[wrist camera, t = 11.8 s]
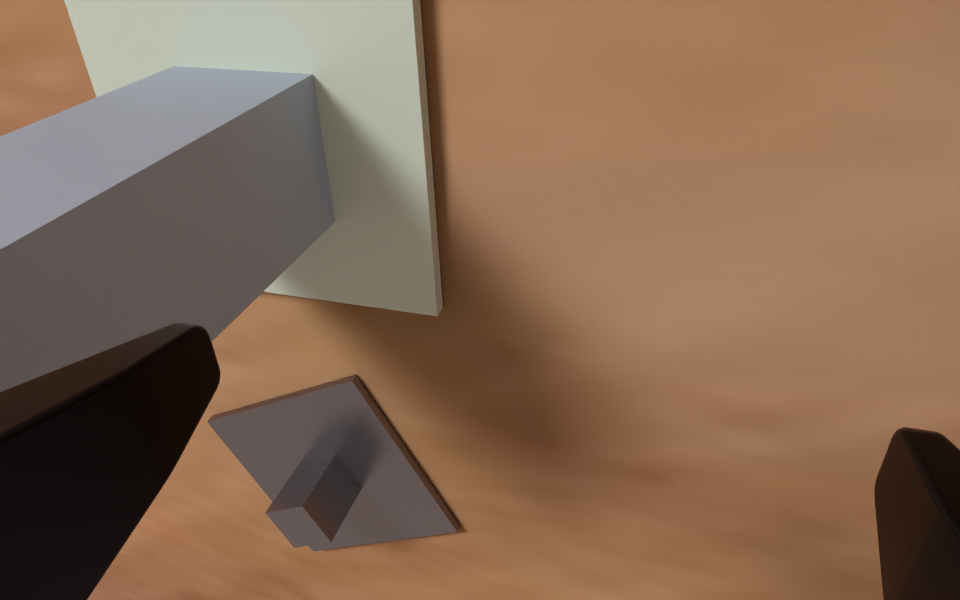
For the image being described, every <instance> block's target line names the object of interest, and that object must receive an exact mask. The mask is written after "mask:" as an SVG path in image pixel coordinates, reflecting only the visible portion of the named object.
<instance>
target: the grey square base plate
mask: <svg viewBox="0 0 960 600" xmlns="http://www.w3.org/2000/svg"><path fill="white" fill-rule="evenodd" d="M207 422H208V423H209V425H210V426H211V427H212V428H213V429H214V431H215V432H216V433H217V434H218V435H219V437H220V438H221V439H222V440H223V442H224V443H225V444H226V445H227V446H228V448H229V449H230V450H231V451H232V453H233V454H234V455H235V456H236V457H237V459H238V460H239V461H240V462H241V464H242V465H243V466H244V467H245V468H246V470H247V471H248V472H249V473H250V475H251V476H252V477H253V478H254V479H255V481H256V482H257V483H258V484H259V485H260V487H261V488H262V489H263V490H264V492H265V493H266V494H267V495H268V496H269V498H270V499H271V500H272V501H273V503H272V504H271V505H270V507H269V508H268V510H267V511H266V514H267V515H268V517H269V518H270V519H271V520H272V521H273V523H274V524H275V525H276V526H277V527H278V529H279V530H280V531H281V532H282V533H283V535H284V536H285V537H286V538H287V539H288V541H289V542H290V543H291V544H292V545H293V547H294V548H295V547H302V546H310V548H311V549H312V550H313V551H319V550H327V549H334V548H342V547H349V546H357V545H365V544H372V543H380V542H387V541H395V540H402V539H410V538H418V537H425V536H433V535H440V534H448V533H455V532H458V529H459V527H460V524H459V523H458V522H457V520H456V519H455V517H454V516H453V514H452V513H451V511H450V510H449V509H448V507H447V506H446V504H445V503H444V501H443V500H442V498H441V497H440V496H439V494H438V493H437V491H436V490H435V488H434V487H433V485H432V484H431V483H430V481H429V480H428V478H427V477H426V475H425V474H424V472H423V471H422V469H421V468H420V467H419V465H418V464H417V462H416V461H415V459H414V458H413V456H412V455H411V454H410V452H409V451H408V449H407V448H406V446H405V445H404V443H403V442H402V441H401V439H400V438H399V436H398V435H397V433H396V432H395V430H394V429H393V428H392V426H391V425H390V423H389V422H388V420H387V419H386V417H385V416H384V414H383V413H382V412H381V410H380V409H379V407H378V406H377V404H376V403H375V401H374V400H373V399H372V397H371V396H370V394H369V393H368V391H367V390H366V388H365V387H364V386H363V384H362V383H361V381H360V380H359V378H358V377H357V375H353V376H350V377H346V378H343V379H339V380H336V381H332V382H329V383H325V384H322V385H318V386H315V387H312V388H308V389H305V390H301V391H298V392H294V393H291V394H287V395H284V396H280V397H277V398H273V399H270V400H266V401H263V402H259V403H256V404H252V405H249V406H245V407H242V408H238V409H235V410H231V411H228V412H224V413H221V414H217V415H214V416H212V417H211V418H210V419H209V420H208V421H207Z"/></svg>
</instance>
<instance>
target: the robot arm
mask: <svg viewBox="0 0 960 600" xmlns="http://www.w3.org/2000/svg"><path fill="white" fill-rule="evenodd" d="M219 381H220V368H219V365H218V362H217V359H216V355H215V352H214V349H213V346H212V342H211V339H210V336H209V333H208V331H207V330H206V329H205V328H204V327H202V326H200V325H194V324H187V323H174V324H171V325H168V326H166V327H163V328H161V329H158V330H156V331H153V332H151V333H148V334H146V335H143V336H140V337H138V338H135V339H133V340H130V341H128V342H125V343H123V344H120V345H118V346H115V347H113V348H110V349H108V350H105V351H103V352H100V353H98V354H95V355H93V356H90V357H87V358H85V359H82V360H80V361H77V362H75V363H72V364H70V365H67V366H65V367H62V368H60V369H57V370H55V371H52V372H50V373H47V374H45V375H42V376H39V377H37V378H34V379H32V380H29V381H27V382H24V383H22V384H19V385H17V386H14V387H12V388H9V389H7V390H4V391H2V392H0V600H87V599H88V598H89V596H90V595H91V593H92V592H93V590H94V589H95V587H96V586H97V584H98V583H99V581H100V580H101V578H102V577H103V575H104V574H105V572H106V571H107V569H108V568H109V566H110V565H111V563H112V562H113V560H114V559H115V557H116V556H117V554H118V553H119V551H120V550H121V548H122V547H123V545H124V544H125V542H126V541H127V539H128V538H129V536H130V535H131V533H132V532H133V530H134V529H135V527H136V526H137V524H138V523H139V521H140V520H141V518H142V517H143V515H144V514H145V512H146V511H147V509H148V508H149V506H150V505H151V503H152V502H153V500H154V499H155V497H156V496H157V495H158V493H159V492H160V490H161V489H162V487H163V485H164V484H165V482H166V481H167V479H168V477H169V476H170V474H171V473H172V471H173V469H174V467H175V466H176V464H177V462H178V460H179V459H180V457H181V455H182V453H183V451H184V449H185V447H186V445H187V444H188V442H189V440H190V438H191V436H192V434H193V432H194V430H195V429H196V427H197V425H198V423H199V421H200V419H201V417H202V415H203V414H204V412H205V410H206V408H207V406H208V404H209V402H210V400H211V399H212V397H213V395H214V393H215V391H216V389H217V387H218V384H219ZM875 508H876V519H877V531H878V542H879V553H880V565H881V576H882V587H883V599H884V600H960V450H959V449H958V448H957V447H956V446H955V445H954V444H953V443H952V442H951V441H949V440H948V439H947V438H946V437H945V436H943V435H942V434H940V433H938V432H934V431H927V430H921V429H914V428H907V427H903V428H900V429H898V430H897V431H896V432H895V433H894V435H893V437H892V439H891V442H890V444H889V447H888V450H887V452H886V455H885V457H884V460H883V463H882V465H881V468H880V470H879V473H878V476H877V479H876V483H875Z"/></svg>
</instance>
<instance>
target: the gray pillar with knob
mask: <svg viewBox="0 0 960 600" xmlns="http://www.w3.org/2000/svg"><path fill="white" fill-rule="evenodd" d="M334 222H335V216H334V209H333V203H332V196H331V190H330V183H329V177H328V170H327V164H326V157H325V151H324V144H323V138H322V131H321V125H320V118H319V112H318V105H317V99H316V92H315V86H314V79H313V74H301V73H284V72H267V71H250V70H233V69H216V68H199V67H182V66H173V67H170V68H168V69H165V70H163V71H160V72H158V73H155V74H153V75H151V76H148V77H146V78H143V79H141V80H138V81H136V82H133V83H131V84H128V85H126V86H123V87H121V88H119V89H116V90H114V91H111V92H109V93H106V94H104V95H101V96H99V97H96V98H94V99H91V100H89V101H86V102H84V103H82V104H79V105H77V106H74V107H72V108H69V109H67V110H64V111H62V112H59V113H57V114H54V115H52V116H49V117H47V118H45V119H42V120H40V121H37V122H35V123H32V124H30V125H27V126H25V127H22V128H20V129H17V130H15V131H12V132H10V133H8V134H5V135H3V136H0V392H2V391H4V390H7V389H9V388H12V387H14V386H17V385H19V384H22V383H24V382H27V381H29V380H32V379H34V378H37V377H39V376H42V375H45V374H47V373H50V372H52V371H55V370H57V369H60V368H62V367H65V366H67V365H70V364H72V363H75V362H77V361H80V360H82V359H85V358H87V357H90V356H93V355H95V354H98V353H100V352H103V351H105V350H108V349H110V348H113V347H115V346H118V345H120V344H123V343H125V342H128V341H130V340H133V339H135V338H138V337H140V336H143V335H146V334H148V333H151V332H153V331H156V330H158V329H161V328H163V327H166V326H168V325H171V324H174V323H187V324H194V325H200V326H202V327H204V328H205V329H206V330H207V331H208V333H209V336H210V339H211V342H212V341H213V340H214V339H215V338H216V337H217V336H218V335H219V334H220V333H221V332H222V331H223V330H224V329H225V328H226V327H227V326H228V325H229V324H230V323H231V322H232V321H233V320H235V319H236V318H237V317H238V316H239V315H240V314H241V313H242V312H243V311H244V310H245V309H246V308H247V307H248V306H249V305H250V304H251V303H252V302H253V301H254V300H255V299H256V298H257V297H258V296H259V295H260V294H261V293H262V292H263V291H264V290H265V289H266V288H267V287H268V286H270V285H271V284H272V283H273V282H274V281H275V280H276V279H277V278H278V277H279V276H280V275H281V274H282V273H283V272H284V271H285V270H286V269H287V268H288V267H289V266H290V265H291V264H292V263H293V262H294V261H295V260H296V259H297V258H298V257H299V256H300V255H301V254H302V253H304V252H305V251H306V250H307V249H308V248H309V247H310V246H311V245H312V244H313V243H314V242H315V241H316V240H317V239H318V238H319V237H320V236H321V235H322V234H323V233H324V232H325V231H326V230H327V229H328V228H329V227H330V226H331V225H332V224H333V223H334Z"/></svg>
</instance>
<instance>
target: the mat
mask: <svg viewBox="0 0 960 600" xmlns="http://www.w3.org/2000/svg"><path fill="white" fill-rule="evenodd" d="M64 1H65V4H66V7H67V10H68V13H69V16H70V19H71V22H72V25H73V28H74V31H75V34H76V37H77V40H78V43H79V46H80V49H81V52H82V55H83V58H84V61H85V64H86V67H87V70H88V73H89V76H90V79H91V82H92V85H93V88H94V91H95V94H96V97H99V96H101V95H104V94H106V93H109V92H111V91H114V90H116V89H119V88H121V87H123V86H126V85H128V84H131V83H133V82H136V81H138V80H141V79H143V78H146V77H148V76H151V75H153V74H155V73H158V72H160V71H163V70H165V69H168V68H170V67H173V66H182V67H199V68H216V69H233V70H250V71H267V72H284V73H301V74H313V79H314V86H315V92H316V99H317V105H318V112H319V118H320V125H321V131H322V138H323V144H324V151H325V157H326V164H327V170H328V177H329V183H330V190H331V196H332V203H333V209H334V216H335V222H334V223H333V224H332V225H331V226H330V227H329V228H328V229H327V230H326V231H325V232H324V233H323V234H322V235H321V236H320V237H319V238H318V239H317V240H316V241H315V242H314V243H313V244H312V245H311V246H310V247H309V248H308V249H307V250H306V251H305V252H304V253H302V254H301V255H300V256H299V257H298V258H297V259H296V260H295V261H294V262H293V263H292V264H291V265H290V266H289V267H288V268H287V269H286V270H285V271H284V272H283V273H282V274H281V275H280V276H279V277H278V278H277V279H276V280H275V281H274V282H273V283H272V284H271V285H270V286H268V287H267V288H266V289H265V290H264V291H263V292H269V293H276V294H283V295H290V296H297V297H304V298H311V299H318V300H325V301H332V302H340V303H347V304H354V305H361V306H368V307H375V308H382V309H389V310H396V311H403V312H410V313H417V314H424V315H431V316H438V315H439V313H440V311H441V310H442V308H443V302H442V289H441V275H440V262H439V248H438V234H437V221H436V207H435V194H434V180H433V167H432V153H431V140H430V126H429V113H428V99H427V86H426V72H425V59H424V45H423V31H422V18H421V4H420V0H64Z"/></svg>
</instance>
